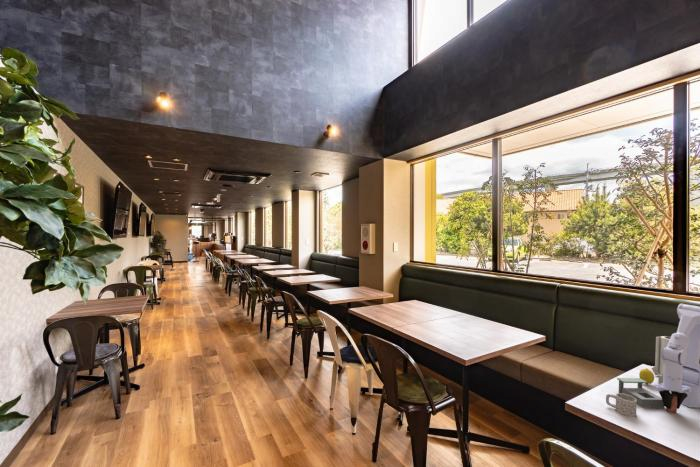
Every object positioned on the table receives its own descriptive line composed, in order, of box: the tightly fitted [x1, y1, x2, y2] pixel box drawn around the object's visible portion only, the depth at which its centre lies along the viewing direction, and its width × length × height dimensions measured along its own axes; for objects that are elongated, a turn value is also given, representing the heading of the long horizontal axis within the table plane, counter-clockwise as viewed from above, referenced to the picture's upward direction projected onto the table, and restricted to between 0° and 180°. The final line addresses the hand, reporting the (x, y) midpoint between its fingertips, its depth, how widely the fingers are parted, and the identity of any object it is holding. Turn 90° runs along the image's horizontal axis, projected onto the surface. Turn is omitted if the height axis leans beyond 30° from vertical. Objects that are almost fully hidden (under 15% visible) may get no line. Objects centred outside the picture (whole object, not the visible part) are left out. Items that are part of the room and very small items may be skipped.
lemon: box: [638, 368, 655, 385], centre depth 160 cm, size 6×6×8 cm
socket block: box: [616, 377, 665, 409], centre depth 145 cm, size 11×12×7 cm
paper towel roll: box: [654, 335, 671, 375], centre depth 168 cm, size 7×6×21 cm
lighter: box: [650, 365, 663, 385], centre depth 161 cm, size 7×2×8 cm, turn 42°
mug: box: [605, 392, 638, 418], centre depth 136 cm, size 10×7×7 cm, turn 44°
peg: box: [665, 395, 678, 415], centre depth 136 cm, size 3×3×7 cm
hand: (671, 407), depth 136 cm, fingers closed on peg, 3 cm apart
